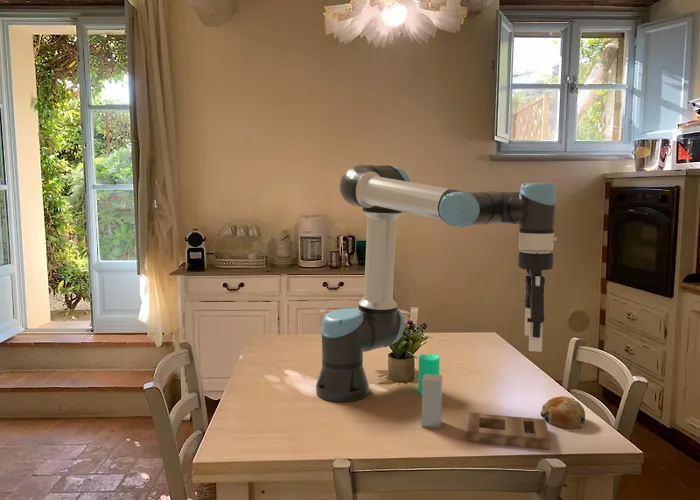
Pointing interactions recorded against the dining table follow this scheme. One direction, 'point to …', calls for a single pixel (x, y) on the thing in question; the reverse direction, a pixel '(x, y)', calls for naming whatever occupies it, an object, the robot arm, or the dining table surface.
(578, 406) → the bread roll
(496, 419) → the socket block
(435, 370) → the candle
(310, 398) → the dining table surface
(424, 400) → the square bit
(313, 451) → the dining table surface
